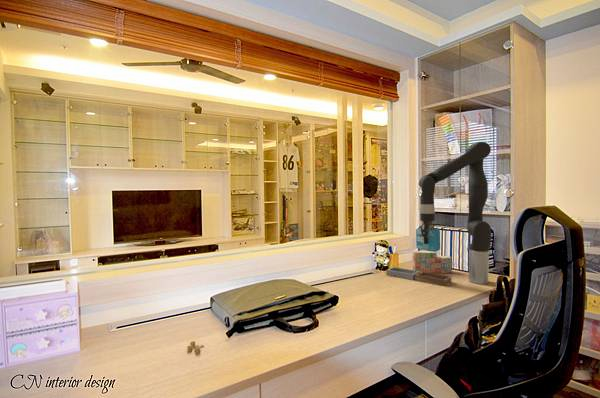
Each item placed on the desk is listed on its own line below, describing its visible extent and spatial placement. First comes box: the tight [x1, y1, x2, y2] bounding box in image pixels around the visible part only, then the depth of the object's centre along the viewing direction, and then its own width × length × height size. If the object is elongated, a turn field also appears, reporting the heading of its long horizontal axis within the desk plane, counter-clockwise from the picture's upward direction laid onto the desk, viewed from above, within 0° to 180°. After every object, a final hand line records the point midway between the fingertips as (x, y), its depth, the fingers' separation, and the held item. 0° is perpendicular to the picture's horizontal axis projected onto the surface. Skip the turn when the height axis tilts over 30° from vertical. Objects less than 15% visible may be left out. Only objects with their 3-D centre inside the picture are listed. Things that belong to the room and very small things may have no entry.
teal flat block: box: [415, 227, 441, 252], centre depth 174 cm, size 12×4×12 cm, turn 36°
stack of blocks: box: [412, 250, 453, 274], centre depth 193 cm, size 21×6×12 cm, turn 83°
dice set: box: [187, 340, 205, 354], centre depth 100 cm, size 5×5×2 cm
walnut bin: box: [414, 272, 452, 287], centre depth 172 cm, size 10×16×3 cm, turn 48°
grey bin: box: [385, 266, 420, 281], centre depth 183 cm, size 10×16×3 cm, turn 49°
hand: (427, 242), depth 174 cm, fingers closed on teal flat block, 5 cm apart
